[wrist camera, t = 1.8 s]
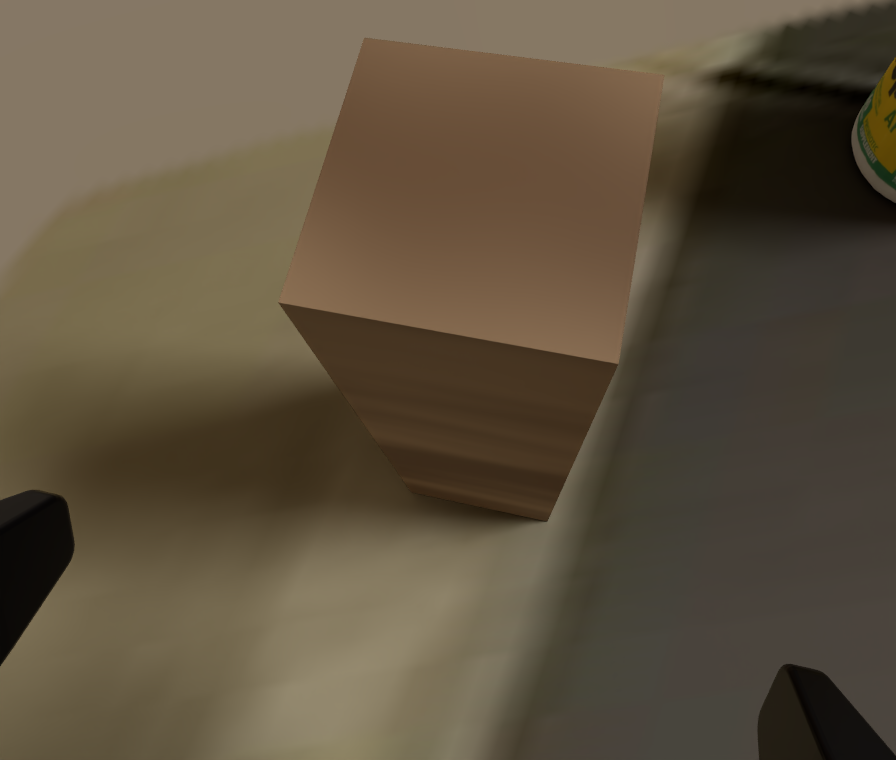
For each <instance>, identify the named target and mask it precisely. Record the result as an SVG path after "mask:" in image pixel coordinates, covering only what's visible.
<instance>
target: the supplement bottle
mask: <svg viewBox="0 0 896 760" xmlns="http://www.w3.org/2000/svg"><path fill="white" fill-rule="evenodd" d="M851 142H852V149H853V154H854V157H855V160H856V163H857V165H858V167H859V169H860V171H861V173H862V174H863V176H864V177H865V178H866V179H867V181H868V182H869V183H870V184H871V186H872V187H873V188H874V189H875V190H876V191H878V192H879V193H880V194H882V195H883V196H885V197H886V198H888V199H889V200H891V201H893V202H894V203H896V57H895V59H894V60H893V62H892V63H891V65H890V66H889V68H888V69H887V71H886V72H885V74H884V75H883V77H882V78H881V80H880V81H879V83H878V84H877V86H876V87H875V89H874V90H873V91H872V93H871V94H870V96H869V97H868V99H867V101H866V102H865V104H864V105H863V107H862V109H861V110H860V112H859V114H858V116H857V118H856V120H855V123H854V127H853V130H852V137H851Z"/></svg>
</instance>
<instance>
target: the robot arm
mask: <svg viewBox="0 0 896 760" xmlns="http://www.w3.org/2000/svg"><path fill="white" fill-rule="evenodd" d="M74 546H75V544H74V537H73V531H72V526H71V520H70V515H69V509H68V505H67V502H66V500H65V499H64V498H63V497H62V496H60V495H57V494H53V493H49V492H44V491H40V490H29V491H25V492H23V493H20V494H17V495H14V496H11V497H8V498H5V499H3V500H0V666H1V664H2V663H3V662H4V660H5V659H6V657H7V656H8V654H9V653H10V652H11V650H12V649H13V647H14V646H15V644H16V643H17V641H18V640H19V638H20V637H21V635H22V634H23V632H24V631H25V629H26V628H27V626H28V625H29V623H30V622H31V620H32V619H33V617H34V616H35V614H36V613H37V611H38V610H39V608H40V607H41V605H42V604H43V602H44V601H45V599H46V598H47V596H48V595H49V593H50V592H51V590H52V589H53V587H54V586H55V584H56V583H57V581H58V580H59V578H60V577H61V575H62V574H63V572H64V571H65V569H66V568H67V566H68V565H69V563H70V561H71V559H72V556H73V553H74ZM758 748H759V760H896V755H895V754H894V753H893V752H892V751H891V750H890V748H889V747H888V746H887V745H886V744H885V743H884V741H883V740H882V739H881V738H880V737H879V736H878V734H877V733H876V732H875V731H874V730H873V729H872V727H871V726H870V725H869V724H868V723H867V722H866V720H865V719H864V718H863V717H862V716H861V715H860V713H859V712H858V711H857V710H856V709H855V708H854V706H853V705H852V704H851V703H850V702H849V701H848V699H847V698H846V697H845V696H844V695H843V694H842V692H841V691H840V690H839V689H838V688H837V687H836V685H835V684H834V683H833V682H832V681H831V680H830V678H829V677H828V676H827V675H825V674H824V673H823V672H821V671H818V670H815V669H811V668H806V667H802V666H798V665H793V664H785V665H783V666H782V667H781V668H780V670H779V671H778V673H777V675H776V677H775V679H774V682H773V684H772V686H771V688H770V690H769V693H768V695H767V697H766V699H765V701H764V703H763V706H762V708H761V710H760V714H759V719H758Z"/></svg>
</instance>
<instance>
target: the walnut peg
mask: <svg viewBox="0 0 896 760" xmlns="http://www.w3.org/2000/svg"><path fill="white" fill-rule="evenodd" d="M663 80H664V75H661V74H653V73H644V72H636V71H628V70H620V69H612V68H604V67H596V66H588V65H580V64H572V63H563V62H556V61H548V60H539V59H531V58H524V57H515V56H507V55H499V54H491V53H483V52H475V51H466V50H459V49H451V48H443V47H435V46H427V45H419V44H411V43H403V42H395V41H387V40H378V39H370V38H364V40H363V43H362V46H361V50H360V53H359V56H358V59H357V62H356V65H355V68H354V71H353V75H352V77H351V80H350V84H349V87H348V90H347V93H346V96H345V99H344V102H343V105H342V108H341V111H340V115H339V117H338V120H337V123H336V127H335V130H334V133H333V136H332V139H331V142H330V145H329V148H328V151H327V154H326V157H325V160H324V163H323V167H322V170H321V173H320V176H319V179H318V182H317V185H316V188H315V191H314V194H313V197H312V200H311V204H310V207H309V210H308V213H307V216H306V219H305V222H304V225H303V228H302V231H301V234H300V237H299V240H298V244H297V247H296V250H295V253H294V256H293V259H292V262H291V265H290V268H289V271H288V274H287V277H286V280H285V284H284V287H283V290H282V293H281V296H280V299H279V302H278V303H279V304H280V305H281V307H282V308H283V310H284V311H285V313H286V314H287V315H288V317H289V318H290V320H291V321H292V323H293V324H294V325H295V327H296V328H297V330H298V331H299V333H300V334H301V335H302V337H303V338H304V340H305V341H306V343H307V344H308V345H309V347H310V348H311V350H312V351H313V353H314V354H315V355H316V357H317V358H318V360H319V361H320V363H321V364H322V366H323V367H324V368H325V370H326V371H327V373H328V374H329V376H330V377H331V378H332V380H333V381H334V383H335V384H336V386H337V387H338V388H339V390H340V391H341V393H342V394H343V396H344V397H345V398H346V400H347V401H348V403H349V404H350V406H351V407H352V408H353V410H354V411H355V413H356V414H357V416H358V417H359V418H360V420H361V421H362V423H363V424H364V426H365V427H366V428H367V430H368V431H369V433H370V434H371V436H372V437H373V438H374V440H375V441H376V443H377V444H378V446H379V447H380V448H381V450H382V451H383V453H384V454H385V456H386V457H387V458H388V460H389V461H390V463H391V464H392V466H393V467H394V468H395V470H396V471H397V473H398V474H399V476H400V477H401V478H402V480H403V481H404V483H405V484H406V486H407V487H408V488H409V490H410V491H411V492H412V493H417V494H422V495H426V496H431V497H436V498H440V499H445V500H450V501H454V502H459V503H464V504H468V505H473V506H478V507H482V508H487V509H492V510H496V511H501V512H506V513H511V514H515V515H520V516H525V517H529V518H534V519H539V520H543V521H548V519H549V517H550V514H551V512H552V510H553V508H554V505H555V503H556V501H557V499H558V497H559V494H560V492H561V490H562V488H563V486H564V483H565V481H566V479H567V477H568V474H569V472H570V470H571V468H572V466H573V463H574V461H575V459H576V457H577V455H578V452H579V450H580V448H581V446H582V443H583V441H584V439H585V437H586V435H587V432H588V430H589V428H590V426H591V423H592V421H593V419H594V417H595V415H596V412H597V410H598V408H599V406H600V404H601V401H602V399H603V397H604V395H605V392H606V390H607V388H608V386H609V384H610V381H611V379H612V377H613V375H614V372H615V370H616V368H617V366H618V363H619V357H620V351H621V344H622V338H623V332H624V325H625V319H626V313H627V307H628V300H629V294H630V288H631V281H632V275H633V269H634V263H635V256H636V250H637V244H638V237H639V231H640V225H641V219H642V212H643V206H644V200H645V193H646V187H647V181H648V175H649V168H650V162H651V156H652V149H653V143H654V137H655V131H656V124H657V118H658V112H659V106H660V99H661V93H662V87H663Z"/></svg>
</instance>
